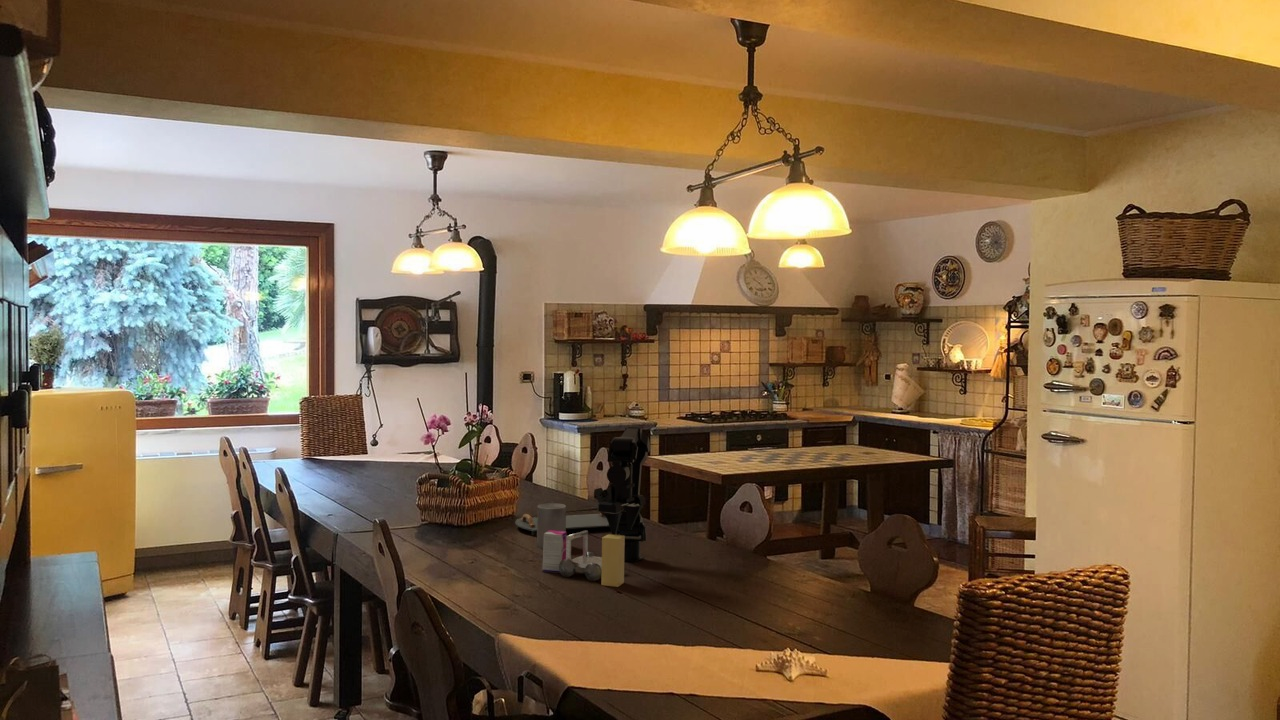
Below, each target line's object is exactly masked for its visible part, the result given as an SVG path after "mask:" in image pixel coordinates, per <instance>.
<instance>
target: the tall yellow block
mask: <svg viewBox="0 0 1280 720" xmlns="http://www.w3.org/2000/svg"><path fill="white" fill-rule="evenodd" d="M624 547H625V536H622V535H617V534H616V535H612V533H611V534H606V535H604V536H602V537H601V557H602V575H601V577H600V579H601V586H607V587H616V588H618V587H620V586H621V585H622V584H624V583H625V561H624Z"/></svg>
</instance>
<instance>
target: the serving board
mask: <svg viewBox="0 0 1280 720" xmlns="http://www.w3.org/2000/svg"><path fill="white" fill-rule="evenodd" d="M514 524H515V526H517V527H518V528H520V529H524V530H527V531H531V536H533V537H535V536H536V537H537V517H535V516H534V517H532V516H531V515H530V514H528V513H524V514H523V515H522V517H520V518H519V517H518V518H517V519H516V520H515V521H514ZM605 527H606V528H608V527H609V523H608V520H607V518H606V517H605V516H604V515H603V514H601V513H588V514H572V515H568V514H567V515H566V530H575V529H576V530H577V529H578V530H579V529H589V528H590V529H591V528H605ZM609 528H610V527H609Z"/></svg>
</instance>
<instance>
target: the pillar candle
mask: <svg viewBox="0 0 1280 720" xmlns="http://www.w3.org/2000/svg"><path fill="white" fill-rule="evenodd" d="M536 509H537V512H536V513H537V514H536V515H537V536H536V547H537V548H539V549H541V550H542V549H543V545H544V533H546V532H548V531H549V530H551V531H564V532H567V529H566V516H567V506H566V504H564V503H559V502H558V503H557V502H556V503H555V502H551V503H550V502H548V503H540V504H538V505H537V508H536Z"/></svg>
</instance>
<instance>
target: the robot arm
mask: <svg viewBox="0 0 1280 720" xmlns="http://www.w3.org/2000/svg"><path fill="white" fill-rule="evenodd" d="M649 438H650V437H649V435H648V434H646V433H645V432H643V429H642V427H640V426H627V427H625V428H624V432H623V433H622V435H620V436H619V437H618V436H615V437H613V438H612V440H611V441H610V442H609V448H608V455H607V462H608V463H612V465H611V466H610V467H609V468H608V470H607V472H606V478H607V480H608V482H609V483H610V484H609V485H608V486H609V487H608V488H606V489H603V488H602V487H598V488H596V489H595V488H594V492H593V499H594V500H596V501H597V503H598V504H597V511H598V512H600V513H601V514H603V515H604V516H605V517H606V518H607V520H608V523H609V530H610V533H611V535H622V536H625V547H624V562H625V561H626V562H632V563H636V562H639V561H640V560H644V559H645V556H641V543H642V542H643V543H644V542H645V541H647V529H646V527H645V523H644V522H643V521H644V520H643V519H644V518H643V517H642V515H641V513H640V512H641V511H642V509H643V508H644V506H645V505H646V498H645V496H644V495H642V494H641V493H640V491H641V482H642V481H641V480H642V468H643V467H642V466H643V465H644V463H645V462H646V461H647V459H648V453H650V451H651V442H650V439H649ZM600 513H599V514H600Z"/></svg>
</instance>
